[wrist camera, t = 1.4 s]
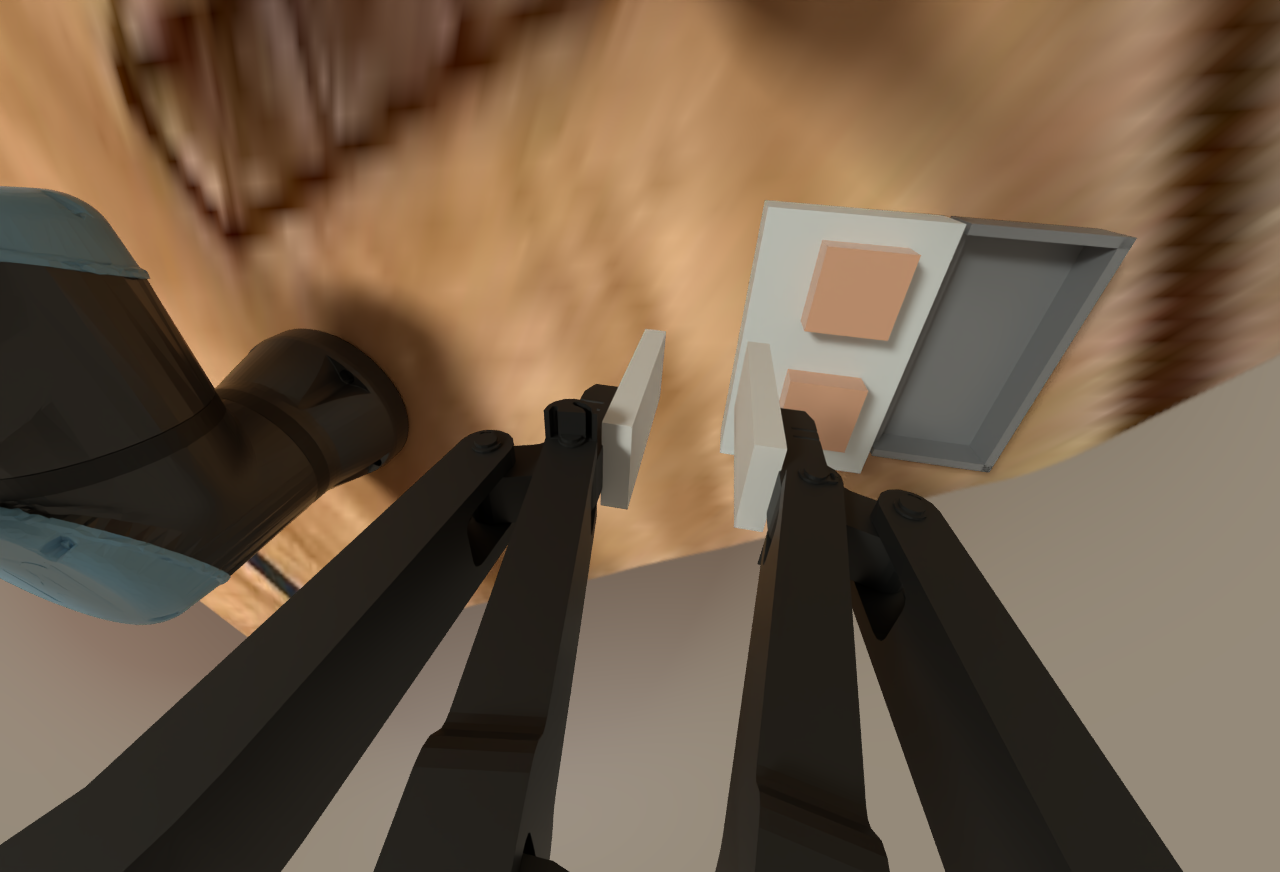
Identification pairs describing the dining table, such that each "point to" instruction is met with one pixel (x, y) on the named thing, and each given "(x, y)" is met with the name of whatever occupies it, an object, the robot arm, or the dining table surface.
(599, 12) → the dining table surface
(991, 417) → the tray
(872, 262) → the tile near
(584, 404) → the robot arm
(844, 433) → the tile far
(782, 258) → the board
